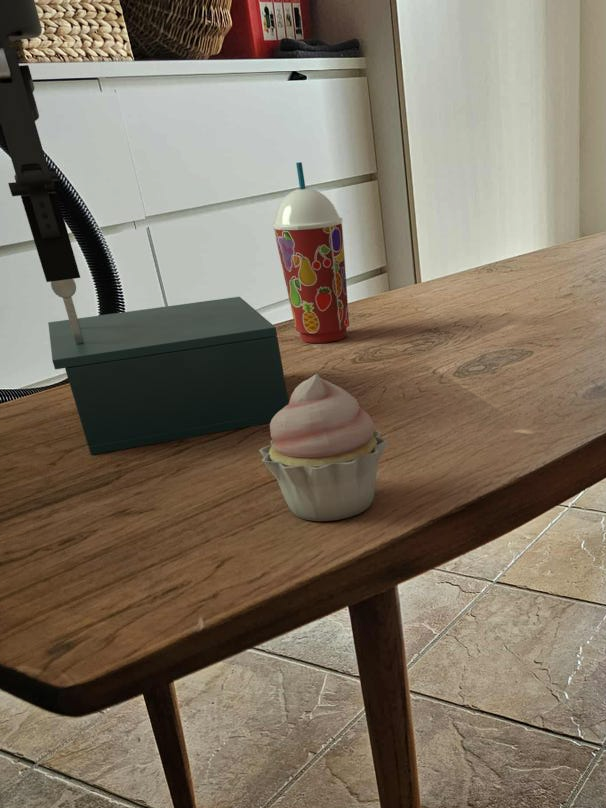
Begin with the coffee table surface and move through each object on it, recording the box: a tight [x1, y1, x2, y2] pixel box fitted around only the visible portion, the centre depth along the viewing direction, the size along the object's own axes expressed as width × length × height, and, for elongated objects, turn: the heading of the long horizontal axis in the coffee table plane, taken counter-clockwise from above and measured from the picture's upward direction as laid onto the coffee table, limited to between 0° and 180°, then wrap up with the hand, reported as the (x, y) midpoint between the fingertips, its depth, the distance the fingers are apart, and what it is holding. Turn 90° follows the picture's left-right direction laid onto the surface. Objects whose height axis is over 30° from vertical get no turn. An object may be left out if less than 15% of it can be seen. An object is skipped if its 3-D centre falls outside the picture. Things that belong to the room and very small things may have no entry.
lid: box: [47, 279, 278, 370], centre depth 85 cm, size 19×18×7 cm
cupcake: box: [258, 373, 388, 522], centre depth 66 cm, size 9×9×10 cm
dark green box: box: [64, 335, 290, 456], centre depth 89 cm, size 19×18×8 cm
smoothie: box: [271, 161, 350, 344], centre depth 110 cm, size 8×8×20 cm
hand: (61, 269), depth 81 cm, fingers open, 13 cm apart
